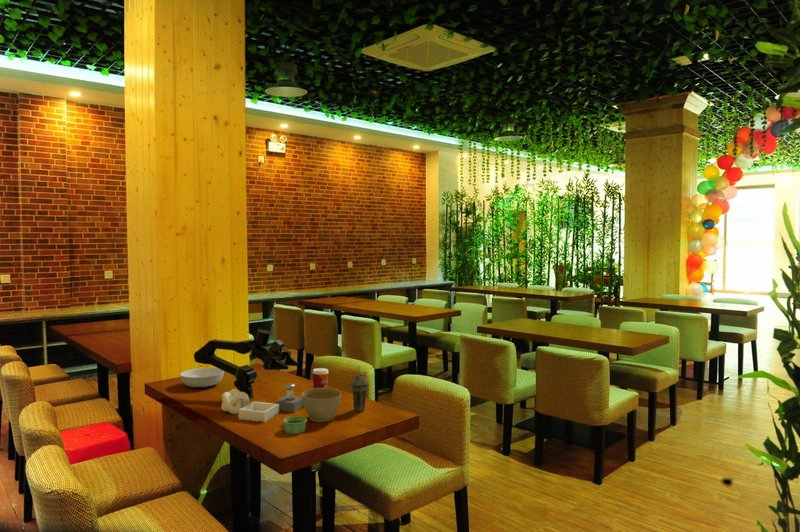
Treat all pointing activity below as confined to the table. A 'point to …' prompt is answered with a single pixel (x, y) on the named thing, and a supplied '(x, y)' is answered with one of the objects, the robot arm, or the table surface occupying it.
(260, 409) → the tray
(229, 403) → the white knot sculpture
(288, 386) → the pin
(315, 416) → the planter bowl
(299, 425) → the ramekin
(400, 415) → the table surface
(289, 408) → the block
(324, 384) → the paper cup
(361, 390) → the beverage cup
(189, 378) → the serving bowl
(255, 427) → the table surface
